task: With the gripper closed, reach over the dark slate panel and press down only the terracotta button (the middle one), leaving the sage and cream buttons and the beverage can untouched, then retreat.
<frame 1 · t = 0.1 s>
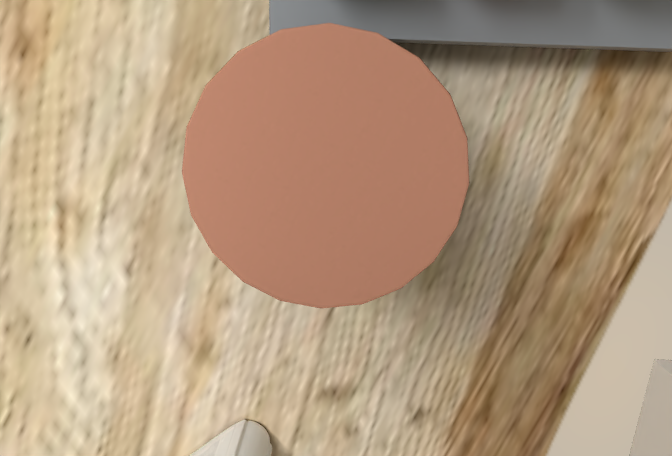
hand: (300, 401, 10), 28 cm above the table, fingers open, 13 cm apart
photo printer: (222, 454, 45), on the table
coffee jar: (337, 126, 36), on the table
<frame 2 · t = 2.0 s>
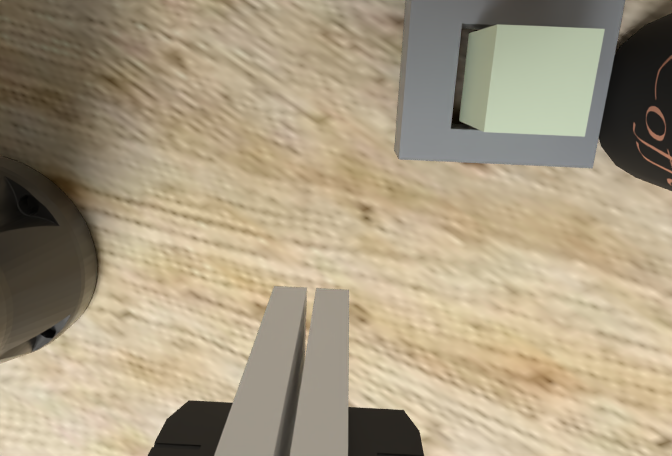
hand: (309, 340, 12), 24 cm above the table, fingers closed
sage button: (522, 80, 27), point 6 cm above the table, slide at 3.0 cm
coffee jar: (665, 99, 34), on the table
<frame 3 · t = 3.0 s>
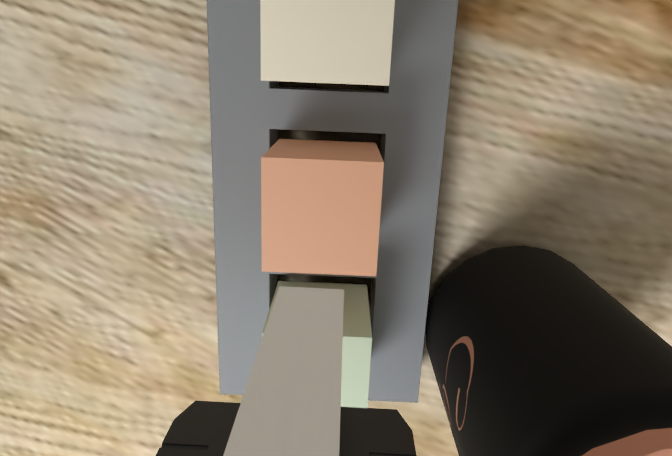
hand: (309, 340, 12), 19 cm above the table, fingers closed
slate panel: (327, 175, 30), on the table
sage button: (318, 349, 27), point 6 cm above the table, slide at 3.0 cm
coffee jar: (503, 315, 33), on the table
terracotta button: (323, 201, 24), point 6 cm above the table, slide at 3.0 cm
cream button: (329, 21, 22), point 6 cm above the table, slide at 3.0 cm
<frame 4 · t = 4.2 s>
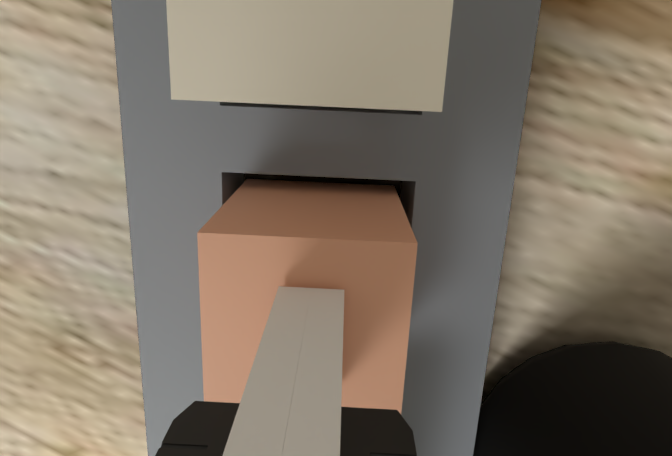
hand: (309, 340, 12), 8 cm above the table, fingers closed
slate panel: (320, 234, 20), on the table
coffee jar: (576, 432, 23), on the table
terracotta button: (312, 285, 15), point 5 cm above the table, slide at 1.7 cm, touching gripper
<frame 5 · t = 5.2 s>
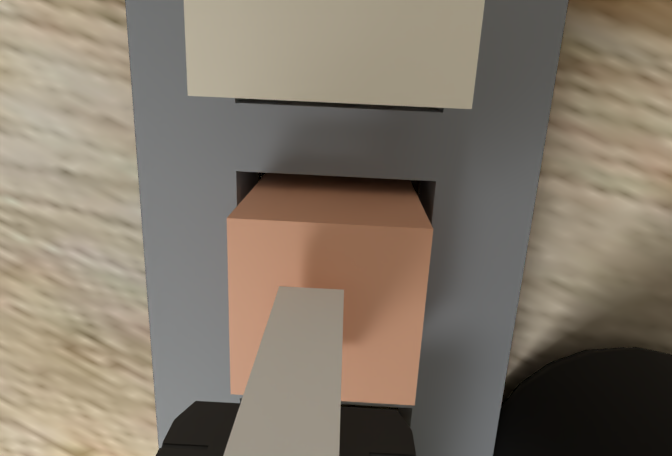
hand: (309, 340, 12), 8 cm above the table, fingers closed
slate panel: (335, 234, 19), on the table
coffee jar: (597, 439, 22), on the table
terracotta button: (331, 272, 16), point 4 cm above the table, slide at 0.4 cm
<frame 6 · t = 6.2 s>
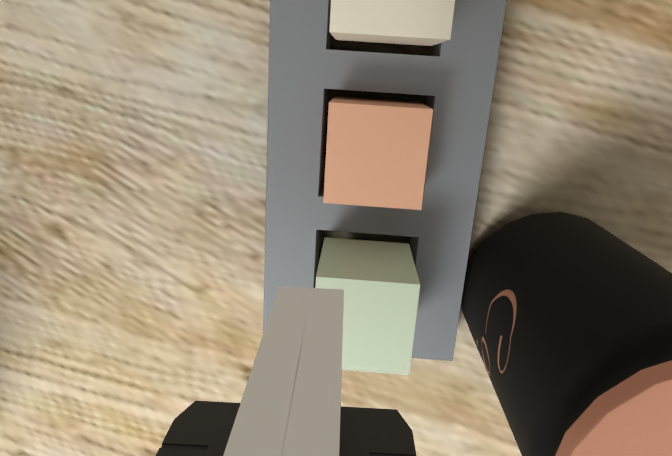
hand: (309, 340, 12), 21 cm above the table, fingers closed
slate panel: (373, 139, 31), on the table
sage button: (363, 300, 28), point 6 cm above the table, slide at 3.0 cm
coffee jar: (536, 282, 34), on the table
terracotta button: (374, 148, 28), point 4 cm above the table, slide at 0.4 cm
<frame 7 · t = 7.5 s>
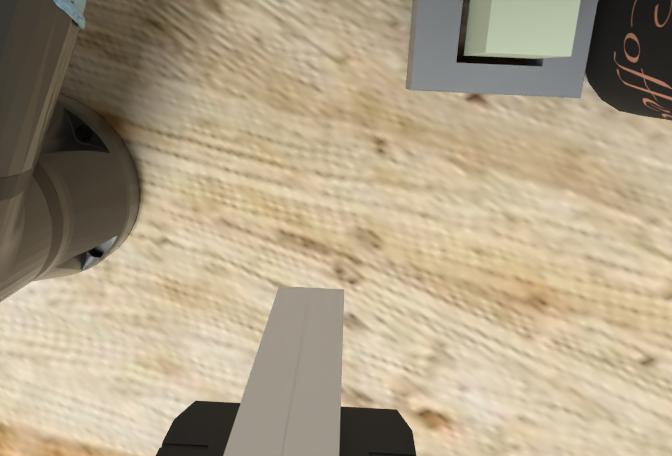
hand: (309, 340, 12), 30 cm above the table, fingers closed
sage button: (518, 13, 32), point 6 cm above the table, slide at 3.0 cm
coffee jar: (645, 41, 38), on the table
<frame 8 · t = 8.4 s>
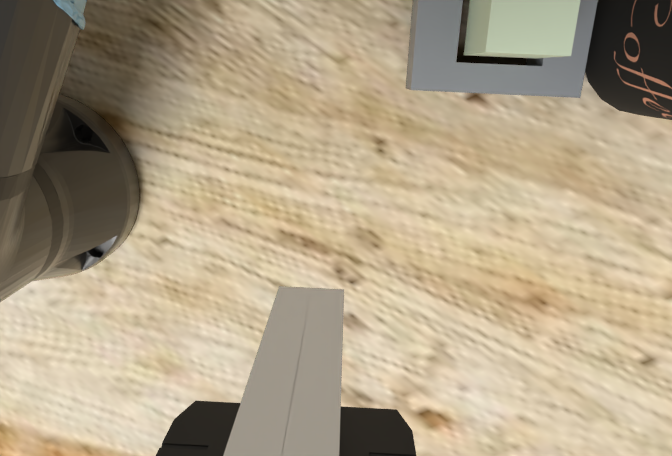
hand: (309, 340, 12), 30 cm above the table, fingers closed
sage button: (518, 13, 32), point 6 cm above the table, slide at 3.0 cm
coffee jar: (645, 41, 38), on the table
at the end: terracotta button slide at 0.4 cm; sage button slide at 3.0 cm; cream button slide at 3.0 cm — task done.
